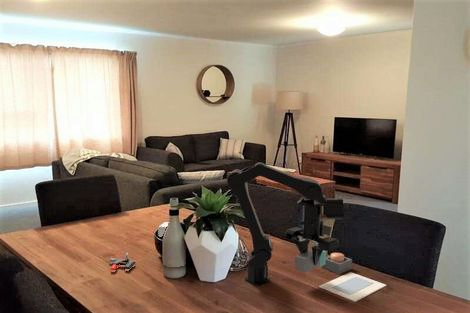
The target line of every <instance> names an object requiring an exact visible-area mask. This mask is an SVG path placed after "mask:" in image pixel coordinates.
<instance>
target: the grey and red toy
mask: <svg viewBox="0 0 470 313" xmlns="http://www.w3.org/2000/svg"><path fill="white" fill-rule="evenodd" d="M109 262H113V263H112V265H111V268H110V270H116V269H118V268H117V265H119V264H120V265H125V268H124V270H125V269H130V268H131V267H132V266H133V265H134V264H135V265H136V261H135V260H133V259H130V258H129V252H126V257H125V258H116V257H115V258H113V257H110V258H109V261H108V263H109ZM116 271H117V270H116Z"/></svg>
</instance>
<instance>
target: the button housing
mask: <svg viewBox="0 0 470 313" xmlns="http://www.w3.org/2000/svg"><path fill="white" fill-rule="evenodd" d="M352 265H353V259H352V258H349V257H346V256H344V261H343V262H340V263H338V262H335V261H332V260H331V255H328V256H326V263H325V265H322V266H320V268H321V269H324V270H327V271H330V272H333V273H335V274H338V275H340V274H343V273H345V272H348V271H350V270H353V269H354V268H353V266H352Z"/></svg>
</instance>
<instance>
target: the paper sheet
mask: <svg viewBox="0 0 470 313" xmlns="http://www.w3.org/2000/svg"><path fill="white" fill-rule="evenodd" d="M318 287H319V288H321V289H323V290H326V291H328V292H330V293H333V294H335V295H337V296H340V297H343V298H345V299H347V300H350V301H352V302H354V303H356V302H358V301H359V300H362V299H363V298H365V297H367V296H369V295H371V294H373V293H375V292H377V291H380V290H381V289H383V288H386V287H387V284H385V283H382V282H380V281H376V280H374V279H371V278H369V277H365V276H363V275H360V274H357V273H354V272H352V271H351V272H348V273H346V274H344V275H341V276H338V277H337V278H334V279H332V280H330V281H327V282H326V283H323V284H321V285H318Z"/></svg>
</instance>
